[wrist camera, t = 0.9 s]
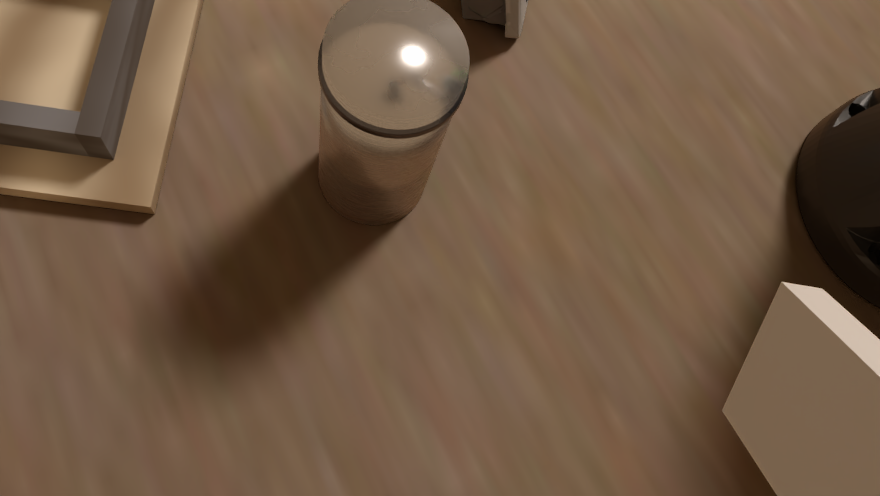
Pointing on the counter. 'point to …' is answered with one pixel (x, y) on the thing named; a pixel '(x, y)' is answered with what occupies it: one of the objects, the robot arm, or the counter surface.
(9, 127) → the collar plate
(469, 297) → the counter surface
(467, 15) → the electrical switch
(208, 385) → the counter surface
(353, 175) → the steel piston
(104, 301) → the counter surface
